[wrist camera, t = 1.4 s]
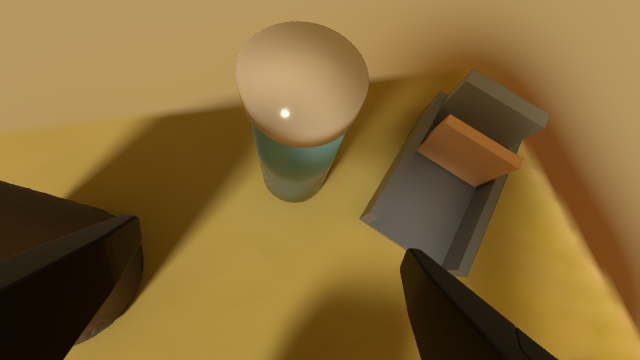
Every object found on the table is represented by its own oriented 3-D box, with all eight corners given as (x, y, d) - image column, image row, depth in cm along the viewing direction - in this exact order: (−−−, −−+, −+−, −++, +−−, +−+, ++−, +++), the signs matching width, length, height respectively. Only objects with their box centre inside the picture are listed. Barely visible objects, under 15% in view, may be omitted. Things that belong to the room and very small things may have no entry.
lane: (444, 275, 23) (503, 278, 17) (359, 219, 23) (385, 201, 17) (497, 153, 27) (558, 120, 21) (424, 108, 28) (464, 63, 22)
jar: (338, 182, 24) (394, 94, 12) (283, 216, 23) (282, 156, 10) (304, 132, 25) (321, 5, 13) (249, 162, 24) (210, 49, 11)
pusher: (474, 187, 25) (518, 168, 20) (415, 150, 25) (445, 123, 21) (478, 178, 25) (522, 158, 20) (419, 142, 26) (450, 114, 21)
